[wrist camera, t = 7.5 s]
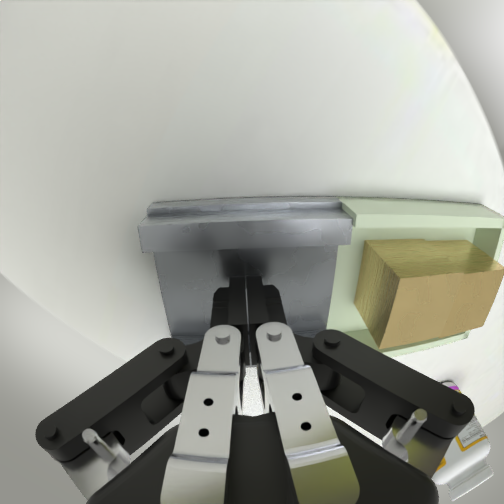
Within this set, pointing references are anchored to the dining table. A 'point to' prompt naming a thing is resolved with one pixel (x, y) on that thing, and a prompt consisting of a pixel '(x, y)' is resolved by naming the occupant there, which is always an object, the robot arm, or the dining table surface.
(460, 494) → the supplement bottle
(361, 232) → the tray
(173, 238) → the slot rail
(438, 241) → the brass block
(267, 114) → the dining table surface
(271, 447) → the robot arm
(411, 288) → the brass block
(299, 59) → the dining table surface
